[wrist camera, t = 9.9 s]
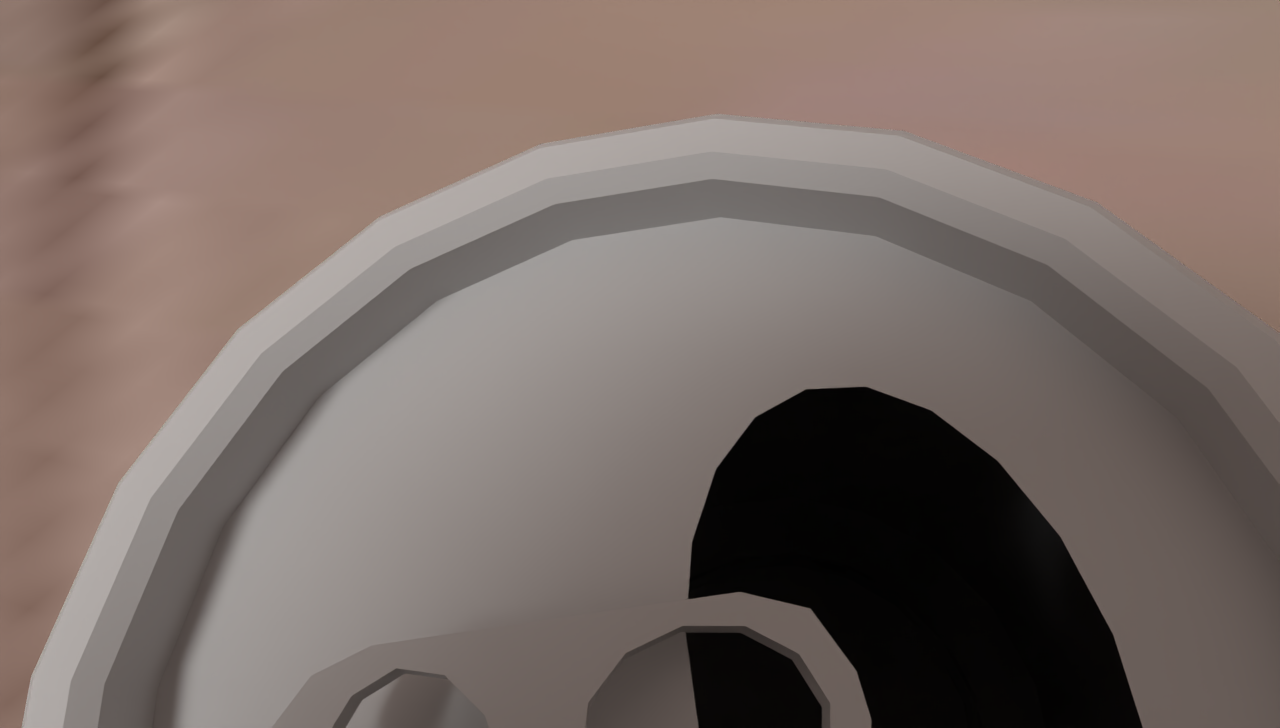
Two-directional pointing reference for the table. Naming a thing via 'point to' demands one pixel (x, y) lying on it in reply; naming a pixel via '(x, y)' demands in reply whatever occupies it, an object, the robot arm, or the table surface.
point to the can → (706, 464)
